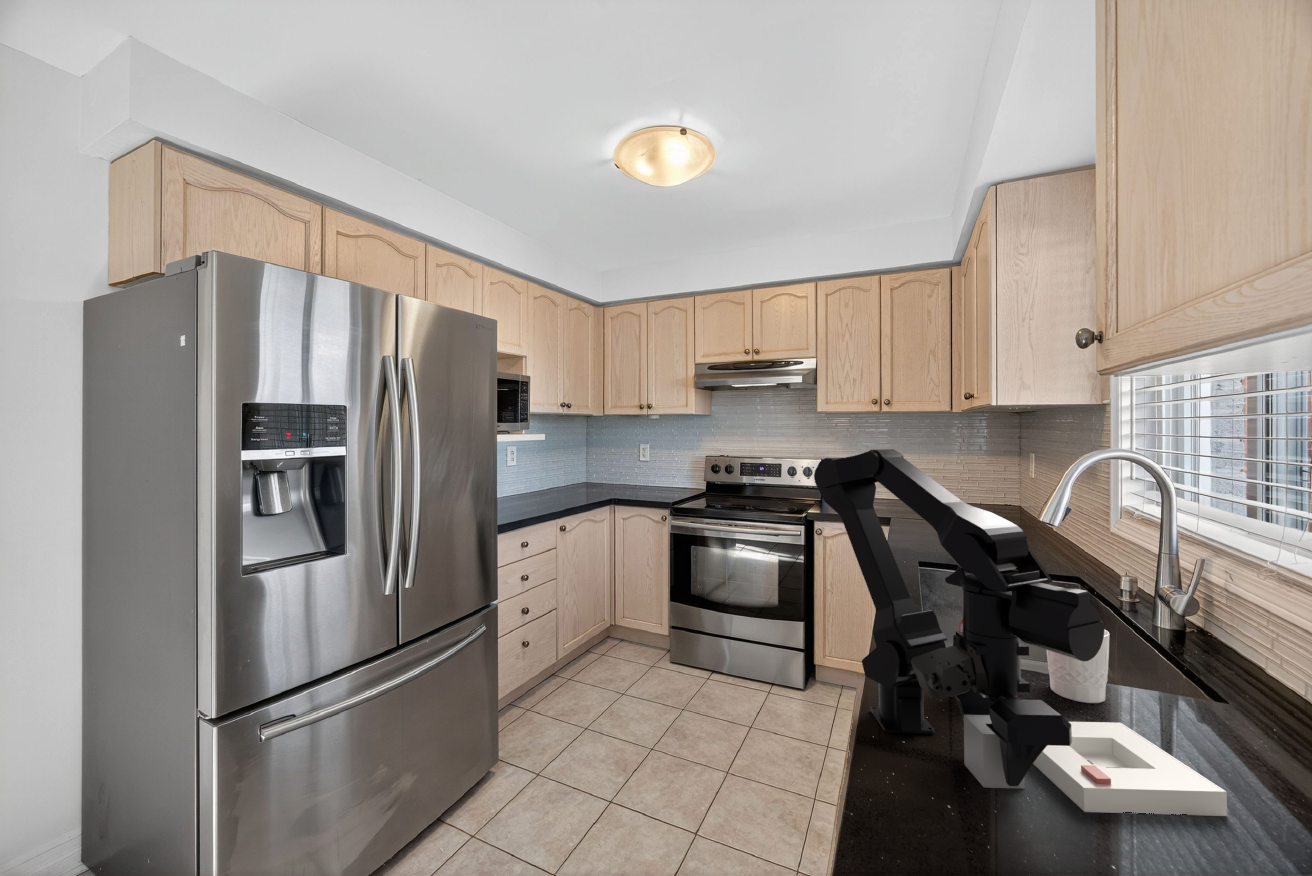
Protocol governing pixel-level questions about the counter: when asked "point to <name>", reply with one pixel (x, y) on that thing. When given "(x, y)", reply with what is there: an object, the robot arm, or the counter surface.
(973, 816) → the counter surface
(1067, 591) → the robot arm
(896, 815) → the counter surface
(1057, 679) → the white cup
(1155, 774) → the socket plate
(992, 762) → the plug
